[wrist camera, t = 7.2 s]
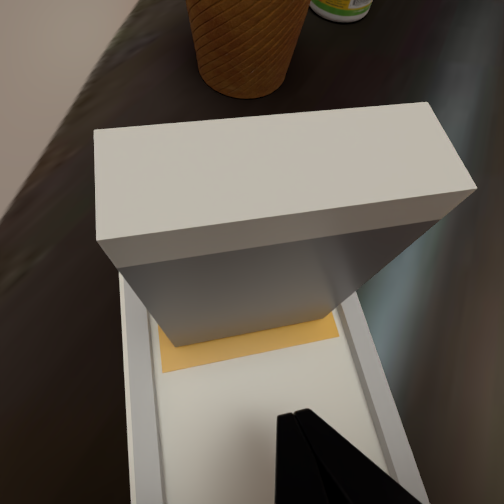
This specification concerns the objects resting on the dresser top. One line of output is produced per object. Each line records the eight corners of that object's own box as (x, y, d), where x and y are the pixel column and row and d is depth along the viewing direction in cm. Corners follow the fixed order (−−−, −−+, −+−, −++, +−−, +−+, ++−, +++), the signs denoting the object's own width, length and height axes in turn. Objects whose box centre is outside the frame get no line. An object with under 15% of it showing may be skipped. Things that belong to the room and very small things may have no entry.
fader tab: (323, 318, 14) (477, 188, 6) (175, 347, 13) (96, 240, 5) (309, 273, 14) (427, 102, 6) (169, 297, 13) (93, 129, 5)
